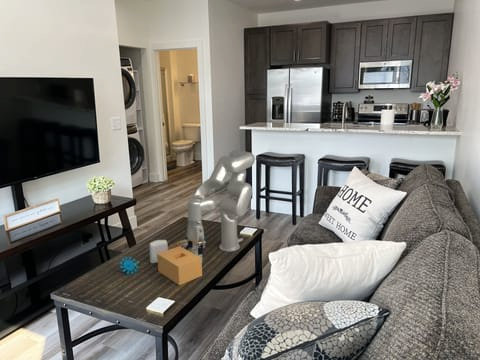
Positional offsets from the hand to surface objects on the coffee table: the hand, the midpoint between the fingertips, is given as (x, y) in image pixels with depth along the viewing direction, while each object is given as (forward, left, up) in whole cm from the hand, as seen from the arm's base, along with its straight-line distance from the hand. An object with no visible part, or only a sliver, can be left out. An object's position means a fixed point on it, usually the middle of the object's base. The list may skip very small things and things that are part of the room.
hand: (195, 251), depth 198 cm
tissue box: (+13, +4, -7) cm, 15 cm away
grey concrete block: (-1, 0, -7) cm, 7 cm away
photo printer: (+13, -16, -7) cm, 22 cm away
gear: (+31, -16, -7) cm, 36 cm away
